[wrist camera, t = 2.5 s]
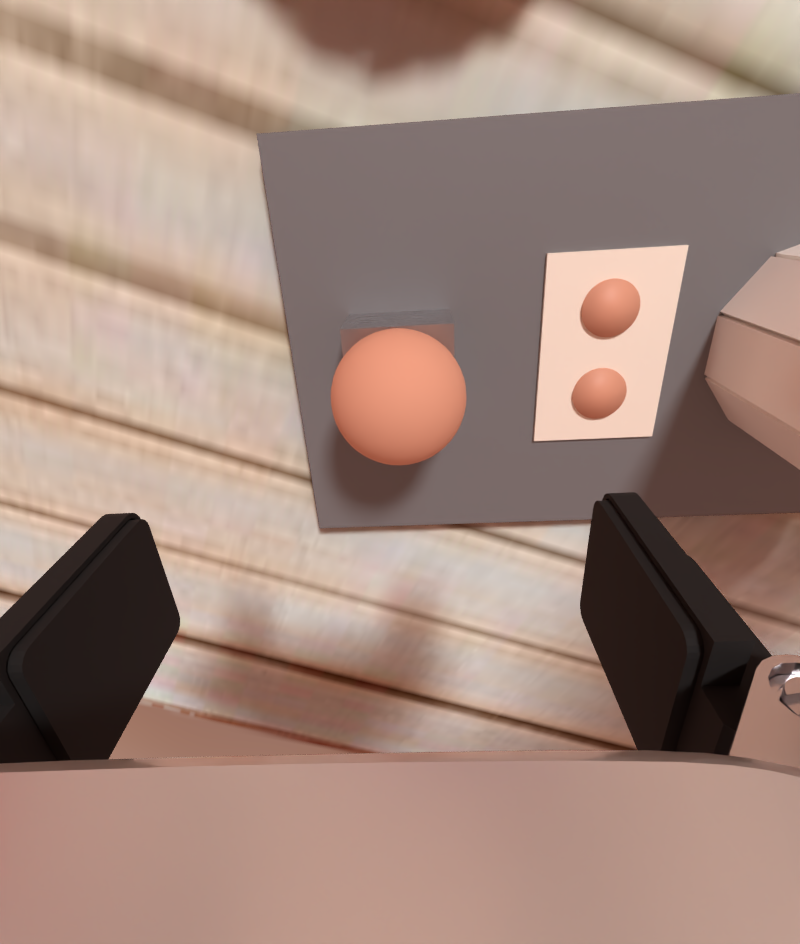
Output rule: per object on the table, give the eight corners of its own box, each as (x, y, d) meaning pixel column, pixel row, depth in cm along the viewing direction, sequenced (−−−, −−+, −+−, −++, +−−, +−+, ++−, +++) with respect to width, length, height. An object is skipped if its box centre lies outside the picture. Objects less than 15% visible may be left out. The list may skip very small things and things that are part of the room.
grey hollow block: (449, 308, 22) (454, 323, 19) (450, 404, 24) (455, 429, 21) (348, 314, 22) (339, 329, 20) (358, 408, 24) (351, 434, 22)
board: (1008, 82, 19) (1055, 72, 17) (839, 498, 27) (861, 514, 26) (265, 137, 20) (253, 132, 19) (323, 516, 29) (318, 531, 27)
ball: (460, 311, 20) (473, 343, 15) (461, 430, 22) (472, 487, 18) (333, 318, 20) (310, 352, 16) (347, 435, 22) (330, 492, 18)
